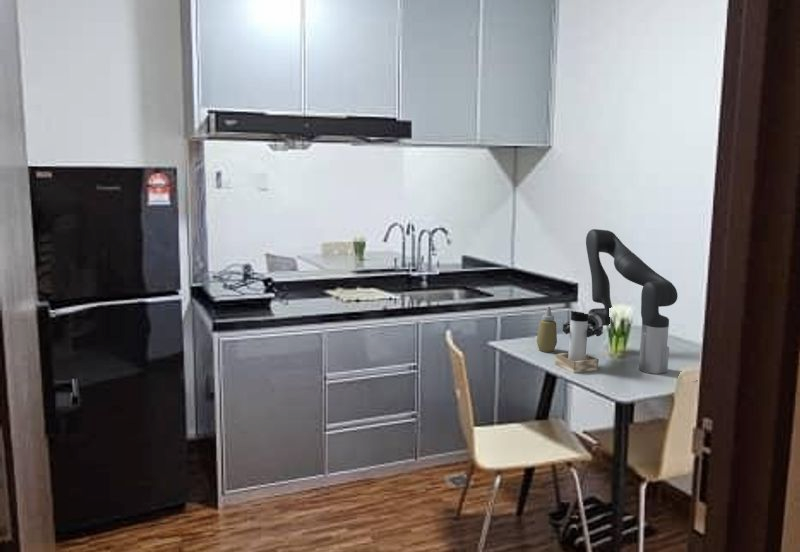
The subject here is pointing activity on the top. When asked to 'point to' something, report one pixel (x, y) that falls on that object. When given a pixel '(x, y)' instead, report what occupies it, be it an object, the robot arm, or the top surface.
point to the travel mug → (578, 336)
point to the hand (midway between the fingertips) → (576, 332)
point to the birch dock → (576, 363)
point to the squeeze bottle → (547, 332)
